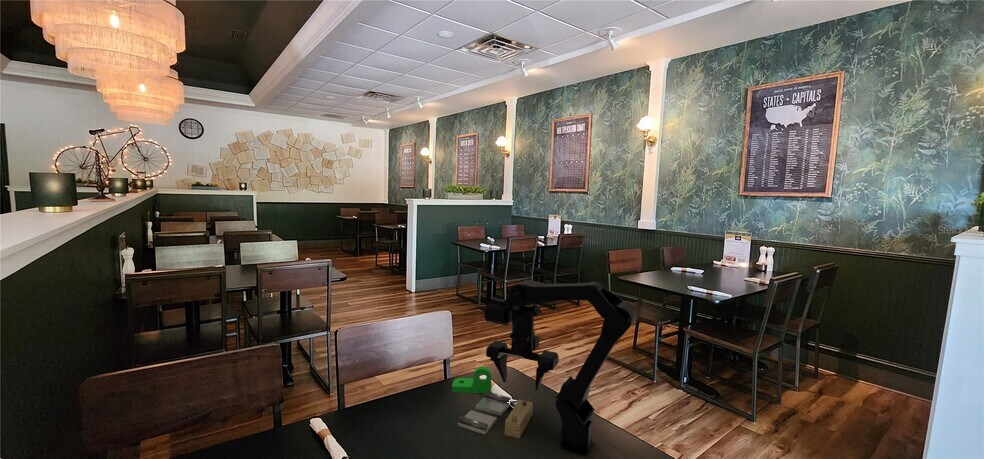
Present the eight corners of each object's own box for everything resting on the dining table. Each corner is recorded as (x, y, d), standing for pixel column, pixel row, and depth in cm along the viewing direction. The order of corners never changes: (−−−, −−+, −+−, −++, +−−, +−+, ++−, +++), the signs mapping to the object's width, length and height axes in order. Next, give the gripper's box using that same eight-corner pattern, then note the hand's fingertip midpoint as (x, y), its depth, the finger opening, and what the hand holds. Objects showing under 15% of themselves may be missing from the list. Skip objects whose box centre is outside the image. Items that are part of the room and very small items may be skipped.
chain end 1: (510, 404, 121) (511, 396, 121) (501, 415, 115) (501, 407, 115) (486, 397, 125) (486, 390, 124) (475, 408, 118) (475, 400, 118)
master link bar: (532, 415, 116) (532, 400, 115) (519, 439, 105) (520, 422, 104) (518, 412, 117) (519, 397, 117) (504, 435, 106) (505, 418, 106)
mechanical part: (491, 385, 133) (492, 361, 133) (490, 394, 127) (491, 369, 127) (454, 383, 134) (455, 359, 133) (451, 392, 128) (452, 367, 127)
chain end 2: (496, 421, 112) (496, 412, 112) (485, 434, 106) (485, 425, 106) (470, 413, 116) (470, 405, 115) (458, 426, 109) (458, 417, 109)
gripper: (565, 325, 112) (563, 381, 113) (502, 315, 120) (501, 367, 121) (553, 338, 102) (551, 399, 103) (485, 326, 110) (484, 382, 111)
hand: (520, 385), depth 110 cm, fingers open, 9 cm apart
